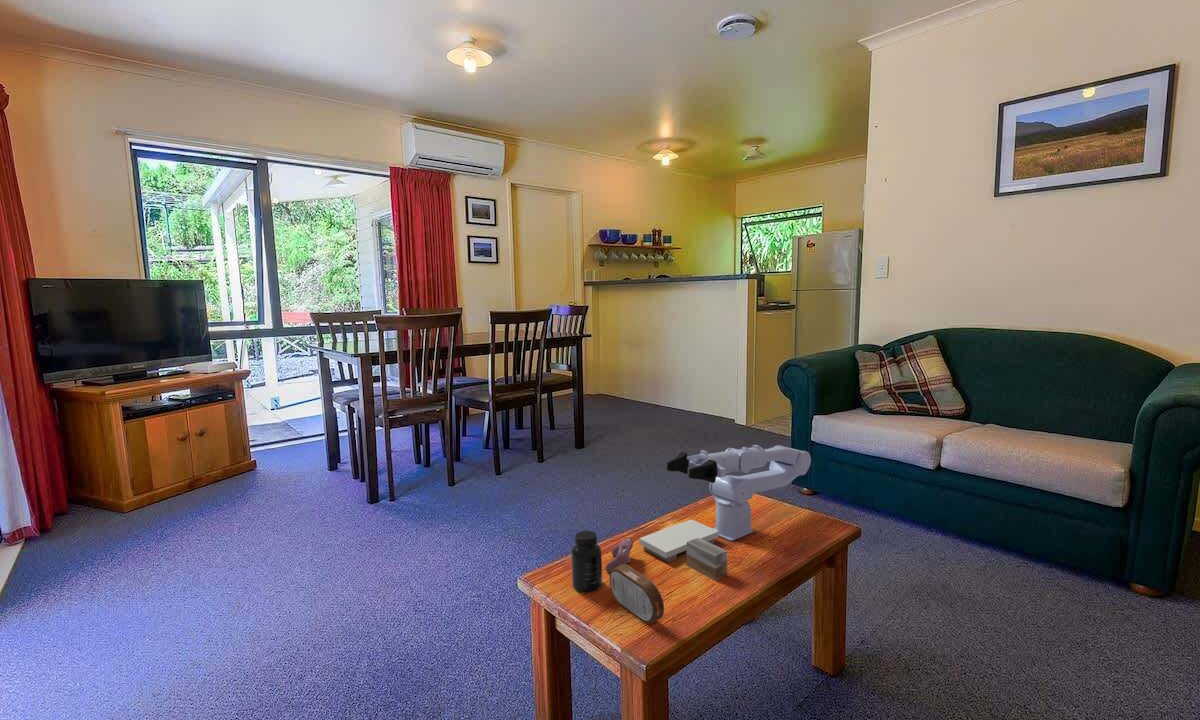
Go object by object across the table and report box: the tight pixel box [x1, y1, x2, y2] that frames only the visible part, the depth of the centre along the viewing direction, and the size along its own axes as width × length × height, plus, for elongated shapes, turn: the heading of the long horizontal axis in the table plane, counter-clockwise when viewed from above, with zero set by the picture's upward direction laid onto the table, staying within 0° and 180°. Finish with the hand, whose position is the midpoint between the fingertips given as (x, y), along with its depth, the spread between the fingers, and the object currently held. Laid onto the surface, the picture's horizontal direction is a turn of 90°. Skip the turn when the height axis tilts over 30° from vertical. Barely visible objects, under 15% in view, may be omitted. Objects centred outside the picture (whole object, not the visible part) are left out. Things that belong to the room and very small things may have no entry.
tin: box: [609, 563, 665, 625], centre depth 107 cm, size 15×3×8 cm, turn 35°
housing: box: [686, 538, 728, 581], centre depth 123 cm, size 4×9×6 cm, turn 36°
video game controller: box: [604, 537, 634, 573], centre depth 127 cm, size 10×5×7 cm, turn 168°
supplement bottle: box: [570, 530, 603, 594], centre depth 117 cm, size 7×7×12 cm
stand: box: [638, 519, 720, 563], centre depth 136 cm, size 19×10×3 cm, turn 126°
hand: (678, 470), depth 130 cm, fingers open, 7 cm apart
